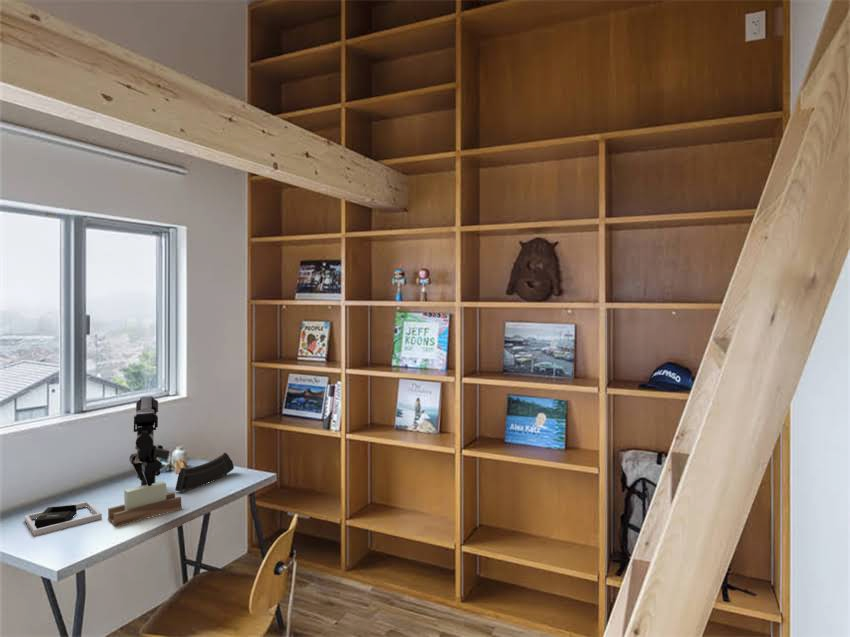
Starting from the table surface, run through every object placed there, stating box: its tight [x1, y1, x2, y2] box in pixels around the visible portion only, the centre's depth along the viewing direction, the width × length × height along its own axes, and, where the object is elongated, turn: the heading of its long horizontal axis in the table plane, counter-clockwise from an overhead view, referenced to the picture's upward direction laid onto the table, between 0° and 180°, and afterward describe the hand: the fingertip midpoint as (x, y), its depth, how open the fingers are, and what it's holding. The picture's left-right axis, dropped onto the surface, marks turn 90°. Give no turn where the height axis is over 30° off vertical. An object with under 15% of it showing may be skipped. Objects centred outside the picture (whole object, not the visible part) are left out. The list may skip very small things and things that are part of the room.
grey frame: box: [24, 500, 103, 537], centre depth 199 cm, size 18×21×2 cm
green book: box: [124, 480, 167, 510], centre depth 205 cm, size 4×14×10 cm, turn 136°
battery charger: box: [34, 504, 78, 529], centre depth 197 cm, size 13×10×4 cm
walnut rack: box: [107, 492, 183, 527], centre depth 205 cm, size 9×24×4 cm, turn 136°
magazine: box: [175, 452, 235, 492], centre depth 240 cm, size 17×3×30 cm
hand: (145, 482), depth 204 cm, fingers open, 9 cm apart
